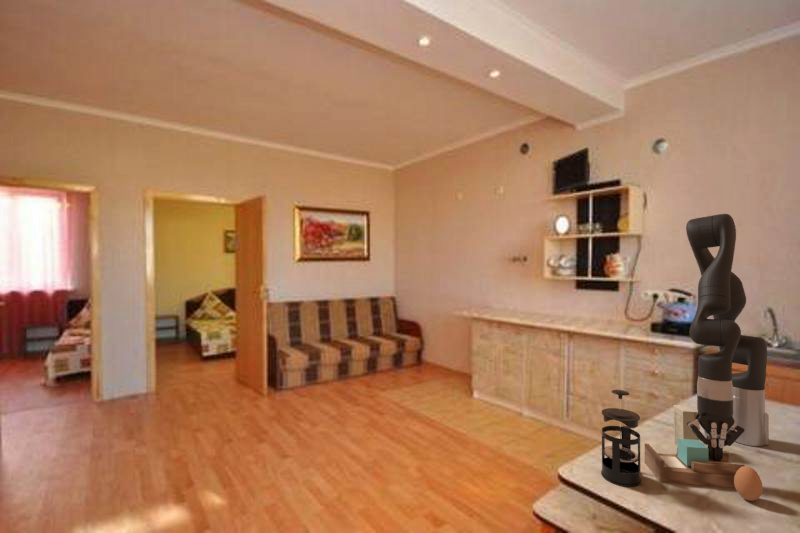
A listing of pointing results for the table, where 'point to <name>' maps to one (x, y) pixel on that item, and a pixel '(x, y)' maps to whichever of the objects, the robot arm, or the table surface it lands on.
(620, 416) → the french press
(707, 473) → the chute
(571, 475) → the table surface
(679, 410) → the skincare box
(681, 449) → the block
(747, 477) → the egg
